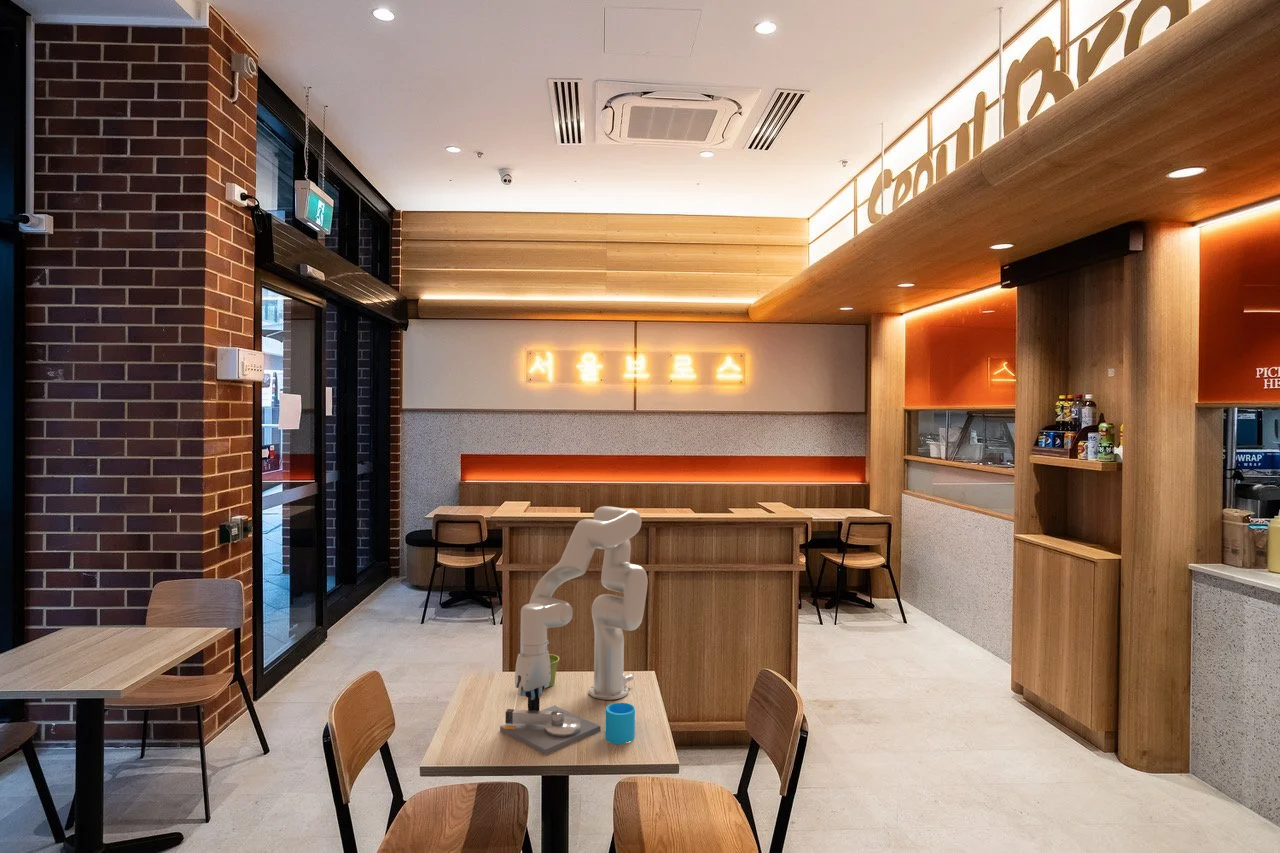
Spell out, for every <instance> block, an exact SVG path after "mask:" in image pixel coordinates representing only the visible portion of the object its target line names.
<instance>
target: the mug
mask: <svg viewBox="0 0 1280 853" xmlns="http://www.w3.org/2000/svg"><path fill="white" fill-rule="evenodd" d="M604 733H605V740H606V741H607V742H608V743H610V744H613V743H614V745H625V744H624V743H626V742H629V741H632V740H633V739H634V740H635V738H636V737H635V736H636V735H635V734H636V707H635V706H634V705H633V704H630V703H628V702H613V703H610V704H609V705H606V707H605V732H604ZM634 737H635V738H634ZM634 740H633V741H634ZM633 741H632V742H633Z"/></svg>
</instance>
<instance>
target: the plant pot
mask: <svg viewBox="0 0 1280 853" xmlns="http://www.w3.org/2000/svg"><path fill="white" fill-rule="evenodd" d="M549 657H550V665H551V680H550V682H549V686H548V687H547V688H551V687H553V686H554V685H555V681H556V675H557V674H556V673H557V668H558V667H557V666H558V664H559V661H560V656H558V655H556V654H550V653H549Z"/></svg>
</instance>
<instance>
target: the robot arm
mask: <svg viewBox="0 0 1280 853" xmlns="http://www.w3.org/2000/svg"><path fill="white" fill-rule="evenodd" d="M642 523H643V522H642V516H641V514H640V513H639V512H638V511H636V510H635V509H631V508H625V507H624V508H623V507H617V506H608V505H607V506H606V505H604V506H599V507H597V508H596V509H595V511H594V512H593V519H592V518H591V519H590V518H585V519H584V518H583V519H581V520H578V522H577V523H576V524H575V527H574V529H573V531H572V533H571V535H570V538H569V540H568V542H567V544H566V546H565V549H564V551H563V553H562V556H561V558H560V559H559V562H558V563H556V564H555V565H554V566H553V567H552V568H550V569H548V571H547V572H546V573H545V574H544V575H542V577H541V578H540V579H539V580H538V581H537V583H536V585H535V587H534V590H533V591H532V594H531V596H530V600H529V601H528V603H527V604H524V605H523V606H522V607H521V608H520V653H518V654H517V658H516V662H515V671H514V672H515V673H514V687H515V688H516V689H518V690H517V695H518V696H519V697H526V698H527V710H534V711H540V700H541V699H540V698H541V697H542V694H543V692H544V690H545V689H546V688H549V687H548V686H549V682H550V680H551V665H550V657H549V654H550V651H549V650H548V645H549V644H550V641H549V639H548V629H551V628H560V627H564V626H566V625H568V624H569V622H571V620H572V619H573V616H574V615H573V614H574V609H573V607H572V605H571V604H570V603H569V602H568V601H565V600H562V599H558V598H555V597H553V595H554V593H555V591H556V590H557V589H558V587H560V586H561V585H563V584H564V583H565V582H567V581H570V580H572V579H575V578H578V577H581V576H583V575H584V574H586V572H587V570H588V568H589V565H590V563H591V560H592V557H593V555H594V553H595V552H596V549H599V550H604V555H603V560H602V567H601V576H600V577H601V578H600V583H601V586H603V588H604V589H606V590H609V591H613V592H617V593H621V594H623V596H619V595H615V594H609V593H604V594H600V595H598V596H597V597H596V598H595V599H594V600H593V602H592V604H591V617H592V623H593V631H594V634H593V635H594V649H593V650H594V651H593V652H594V656H593V658H594V662H593V663H594V664H593V665H594V666H593V671H594V672H593V673H594V674H593V685H591V686H590V687H589V689H588V693H589V695H590V696H591V697H592V698H595V699H598V700H603V701H604V700H605V701H612V700H619V699H622V698H624V697H626V696H627V695H629V694H628V693H629V687H628V686H627V685H626V684H627V683H628V682H631V681H633V680H634V675H633V674H627V675H625V674H624V671H625V670H624V666H625V664H624V659H625V658H624V656H625V655H624V652H625V647H624V646H625V637H624V632H623V630H625V631H635V630H637V629H638V628H639V627H640V625H641V624H642V622H643V618H644V613H645V607H646V599H647V592H648V585H649V584H648V580H649V579H648V575H647V574H648V573H647V572H646V570H645V568H644V567H642V566H641V565H638V564H634V563H631V562H630V561H631V551H632V546H631V540H630V539H631V538H633V537H634V536H636V535H637V534H638V533H639V531H640V530H641V527H642Z"/></svg>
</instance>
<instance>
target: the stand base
mask: <svg viewBox="0 0 1280 853" xmlns="http://www.w3.org/2000/svg"><path fill="white" fill-rule="evenodd" d="M555 710H560V711H563V712H564V716H569V717H574V718H576V719H578V720H579V721H580V723H581V729H580V731H579V732H578V733H577V734H575V735H573V736H569V737H553V736H550V735H548V734H547V733H546V732H545V725H540V724H516V723H513V724H508V723H505V724H503V725H500V726H499V732H500V733H502V734H504V735H506V736H508V737H510V738H511V739H514V740H515V741H516V742H519V743H521V744H523V745H525V746H527V747H528V748H531V749H533V750H534V751H537V752H538V753H540V754H542V755H544V756H546V755H547V756H548V755H550V754H552V753H554V752H557V751H559V750H561V749H563V748H565V747H568V746H570V745H572V744H575V743H576V742H578V741H581V740H583V739H586V738H588V737H590V736H592V735H595V734H597V733H598V732H601V725H599V724H597V723H595V722H593V721H590V720H588V719H586V718H584V717H581V716H580V715H577V714H576V713H573V712H570V711H568V710H566V709H564V708H562V707H559V706H557V705H552V706H549V707H547V708H545V709H542V710H540V711H555Z"/></svg>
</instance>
